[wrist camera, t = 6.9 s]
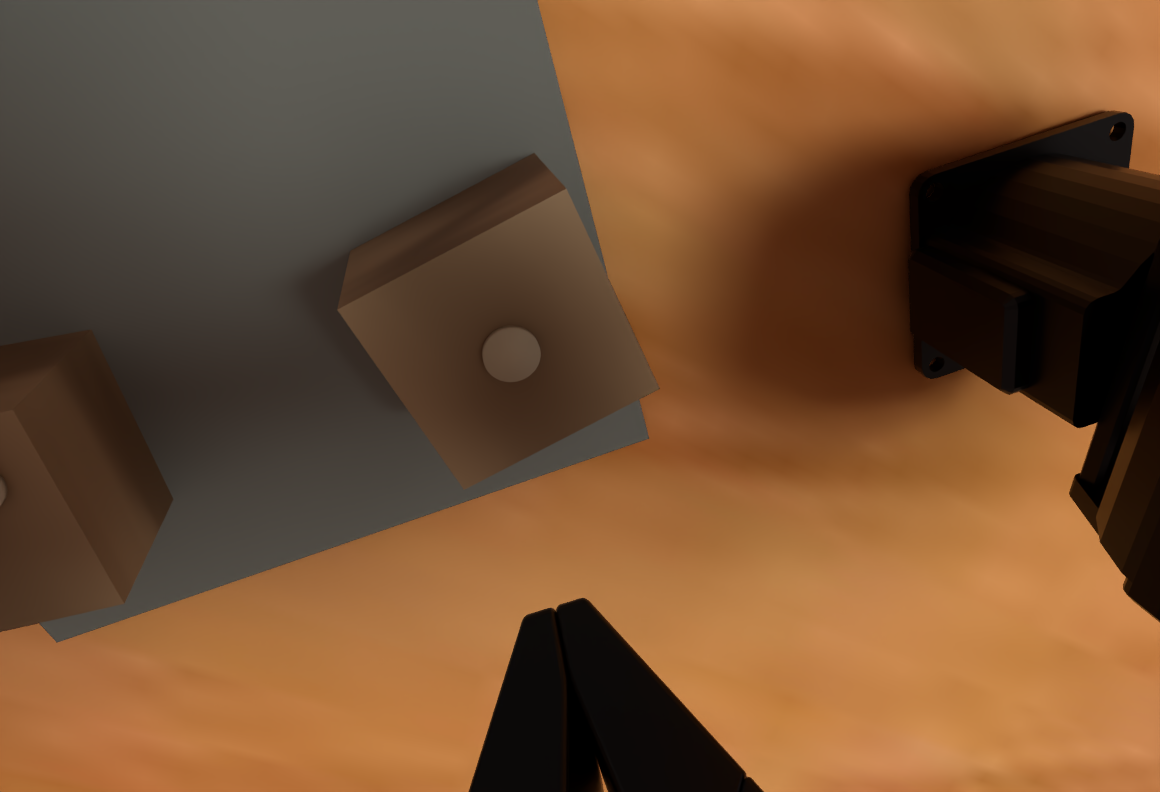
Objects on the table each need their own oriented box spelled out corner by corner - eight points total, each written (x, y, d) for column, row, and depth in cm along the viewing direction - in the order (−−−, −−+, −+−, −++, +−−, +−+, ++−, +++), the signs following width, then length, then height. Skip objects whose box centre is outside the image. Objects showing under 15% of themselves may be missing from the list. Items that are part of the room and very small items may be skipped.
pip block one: (534, 153, 18) (568, 190, 14) (615, 322, 20) (662, 392, 16) (350, 250, 18) (336, 313, 14) (454, 406, 20) (464, 494, 17)
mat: (224, -1206, 9) (216, -1253, 9) (645, 431, 22) (649, 438, 22) (-1312, -895, 8) (-1385, -932, 8) (62, 632, 21) (56, 642, 21)
